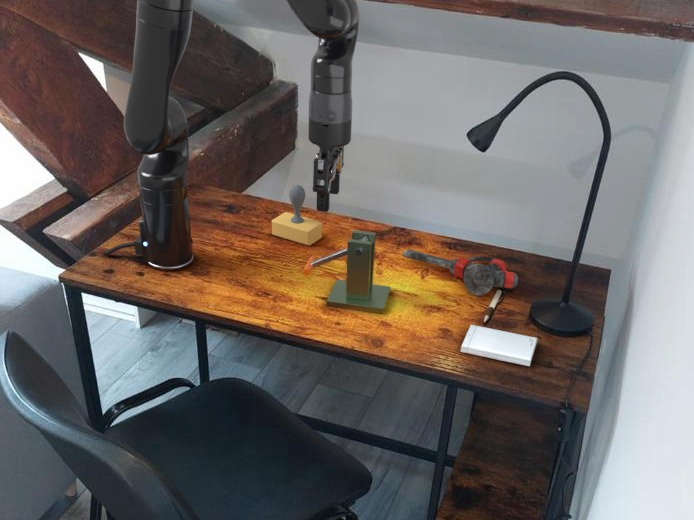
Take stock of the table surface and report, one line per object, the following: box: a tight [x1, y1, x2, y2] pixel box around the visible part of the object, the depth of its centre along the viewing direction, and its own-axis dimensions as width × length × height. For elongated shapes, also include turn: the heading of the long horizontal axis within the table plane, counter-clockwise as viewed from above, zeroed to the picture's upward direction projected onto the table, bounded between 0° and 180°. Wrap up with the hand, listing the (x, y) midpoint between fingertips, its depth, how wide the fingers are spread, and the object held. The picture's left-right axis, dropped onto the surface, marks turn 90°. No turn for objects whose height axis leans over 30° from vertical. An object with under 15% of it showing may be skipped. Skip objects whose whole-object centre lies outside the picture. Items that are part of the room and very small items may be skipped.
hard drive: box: [460, 324, 538, 367], centre depth 145 cm, size 2×8×12 cm
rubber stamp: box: [271, 184, 323, 247], centre depth 177 cm, size 10×6×12 cm, turn 61°
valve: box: [402, 248, 519, 296], centre depth 169 cm, size 6×26×15 cm
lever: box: [302, 236, 369, 277], centre depth 154 cm, size 14×6×2 cm
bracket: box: [326, 229, 392, 315], centre depth 154 cm, size 11×9×13 cm
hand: (328, 201), depth 150 cm, fingers open, 8 cm apart
